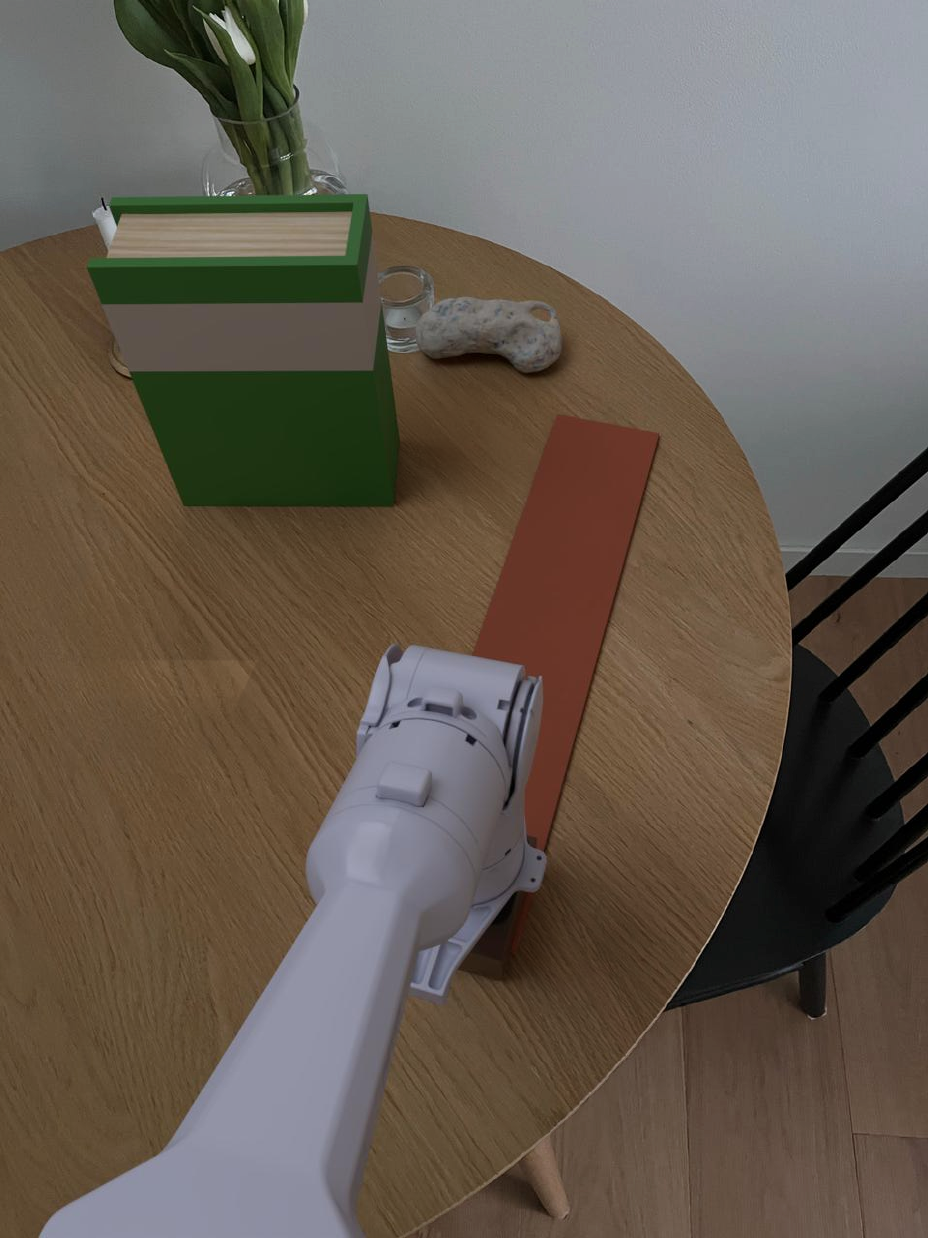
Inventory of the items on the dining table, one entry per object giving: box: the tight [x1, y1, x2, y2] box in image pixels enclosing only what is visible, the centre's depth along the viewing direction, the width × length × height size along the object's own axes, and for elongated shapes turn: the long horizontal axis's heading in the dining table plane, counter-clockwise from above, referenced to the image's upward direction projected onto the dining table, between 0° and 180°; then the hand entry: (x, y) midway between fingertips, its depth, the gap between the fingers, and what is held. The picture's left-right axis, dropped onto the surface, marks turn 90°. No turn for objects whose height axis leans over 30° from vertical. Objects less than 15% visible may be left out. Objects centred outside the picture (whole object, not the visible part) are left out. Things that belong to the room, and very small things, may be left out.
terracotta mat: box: [471, 413, 660, 956], centre depth 79 cm, size 46×9×1 cm, turn 163°
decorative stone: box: [414, 296, 563, 374], centre depth 95 cm, size 13×7×5 cm, turn 89°
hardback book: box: [86, 193, 401, 507], centre depth 80 cm, size 18×7×24 cm, turn 88°
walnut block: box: [458, 835, 537, 982], centre depth 66 cm, size 4×4×8 cm
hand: (473, 909), depth 61 cm, fingers closed
